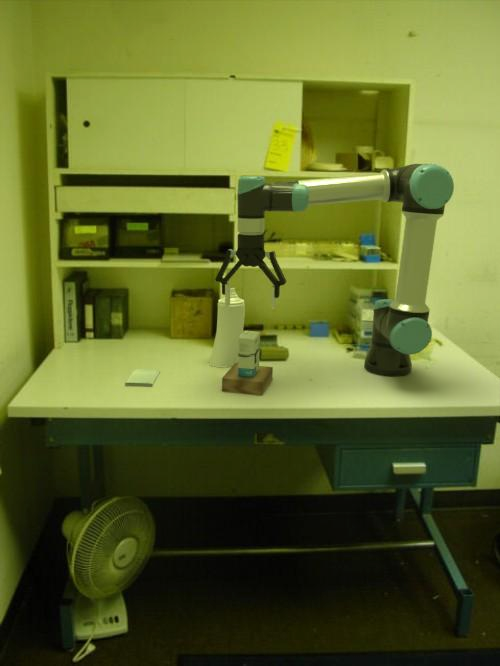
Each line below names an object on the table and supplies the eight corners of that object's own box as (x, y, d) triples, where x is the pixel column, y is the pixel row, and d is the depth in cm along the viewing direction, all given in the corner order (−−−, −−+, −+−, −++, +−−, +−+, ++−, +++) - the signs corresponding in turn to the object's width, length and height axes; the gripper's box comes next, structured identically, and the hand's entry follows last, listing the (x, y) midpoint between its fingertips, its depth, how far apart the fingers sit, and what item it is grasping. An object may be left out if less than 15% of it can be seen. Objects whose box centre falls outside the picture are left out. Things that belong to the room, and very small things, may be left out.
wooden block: (272, 379, 189) (272, 367, 188) (262, 395, 176) (262, 382, 175) (234, 375, 192) (234, 363, 190) (221, 391, 178) (222, 378, 177)
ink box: (253, 378, 178) (254, 339, 175) (237, 376, 179) (237, 337, 176) (260, 368, 186) (261, 331, 183) (244, 367, 187) (244, 330, 184)
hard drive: (152, 383, 181) (160, 369, 192) (124, 382, 181) (134, 368, 193) (152, 388, 181) (160, 374, 193) (125, 387, 181) (134, 373, 193)
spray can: (217, 355, 211) (217, 283, 204) (247, 358, 208) (248, 286, 201) (205, 365, 200) (205, 290, 193) (237, 369, 197) (238, 293, 191)
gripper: (297, 233, 172) (295, 307, 178) (212, 230, 178) (212, 301, 184) (292, 236, 165) (290, 313, 171) (204, 233, 171) (205, 307, 177)
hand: (250, 307), depth 177 cm, fingers open, 13 cm apart
